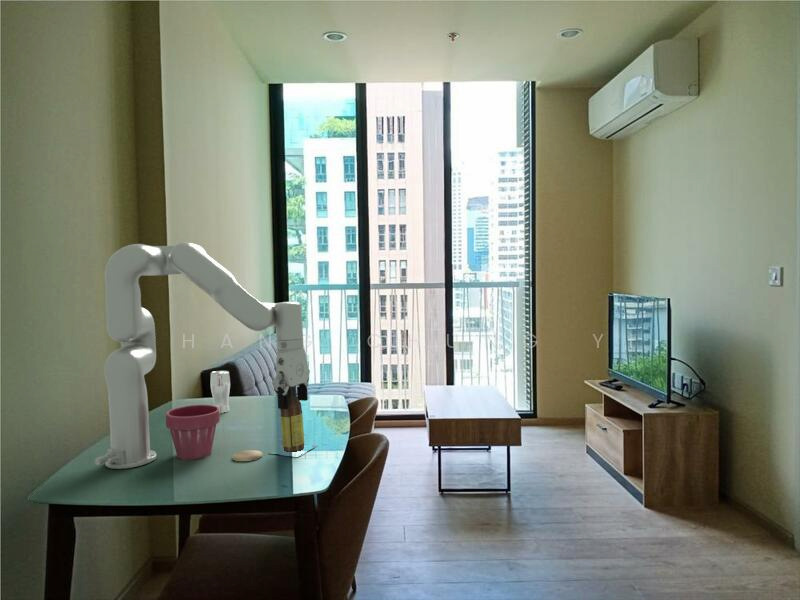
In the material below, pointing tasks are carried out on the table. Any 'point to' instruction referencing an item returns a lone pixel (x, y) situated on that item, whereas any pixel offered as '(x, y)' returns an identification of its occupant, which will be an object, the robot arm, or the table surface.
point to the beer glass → (220, 389)
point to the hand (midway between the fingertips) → (293, 404)
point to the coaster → (247, 455)
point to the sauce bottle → (292, 423)
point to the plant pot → (193, 430)
